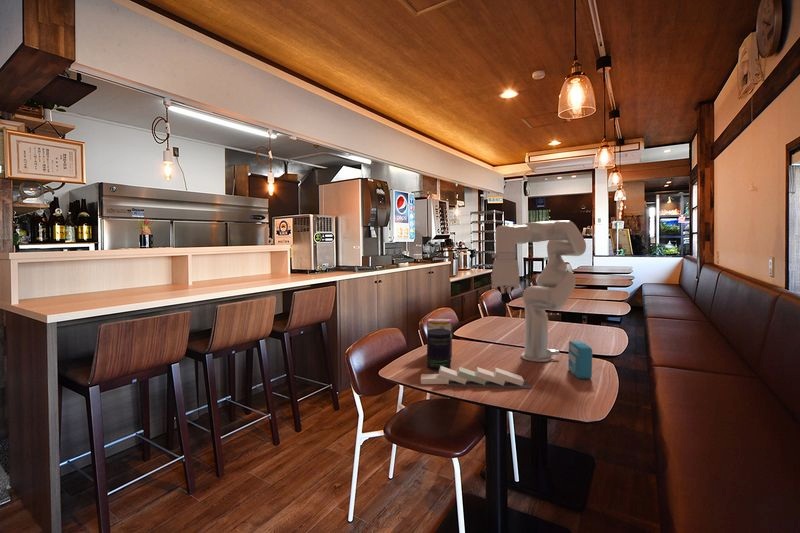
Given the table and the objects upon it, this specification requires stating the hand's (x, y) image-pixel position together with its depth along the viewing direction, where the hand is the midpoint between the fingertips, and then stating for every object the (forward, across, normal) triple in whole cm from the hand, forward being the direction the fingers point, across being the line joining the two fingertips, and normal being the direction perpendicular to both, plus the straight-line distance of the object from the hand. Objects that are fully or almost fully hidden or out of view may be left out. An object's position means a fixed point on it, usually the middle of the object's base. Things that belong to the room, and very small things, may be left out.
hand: (505, 303), depth 161 cm
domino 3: (+26, -3, -17) cm, 31 cm away
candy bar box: (+27, -26, +17) cm, 41 cm away
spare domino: (+25, -10, -17) cm, 32 cm away
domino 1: (+25, -23, -16) cm, 38 cm away
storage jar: (+27, -26, +1) cm, 38 cm away
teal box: (+27, +28, -4) cm, 39 cm away
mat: (+27, -9, -17) cm, 33 cm away
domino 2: (+25, -17, -17) cm, 35 cm away
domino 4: (+26, +3, -17) cm, 31 cm away
